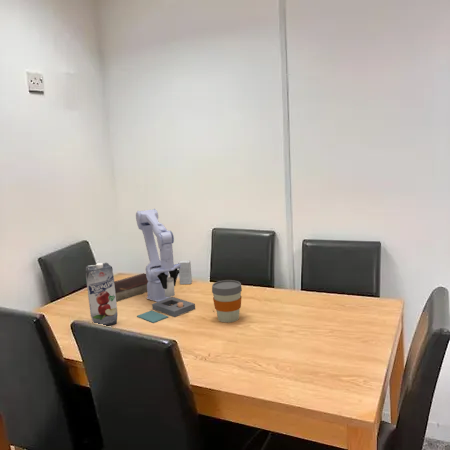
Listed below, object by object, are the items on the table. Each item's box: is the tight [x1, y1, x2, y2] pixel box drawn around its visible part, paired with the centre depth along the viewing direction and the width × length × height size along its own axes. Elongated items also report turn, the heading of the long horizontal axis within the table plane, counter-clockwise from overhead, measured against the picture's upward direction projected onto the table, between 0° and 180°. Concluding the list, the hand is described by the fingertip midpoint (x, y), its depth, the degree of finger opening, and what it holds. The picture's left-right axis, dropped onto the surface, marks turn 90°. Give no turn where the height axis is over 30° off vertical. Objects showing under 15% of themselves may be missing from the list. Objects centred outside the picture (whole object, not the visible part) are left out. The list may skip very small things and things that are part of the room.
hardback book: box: [114, 273, 148, 303], centre depth 244 cm, size 29×19×5 cm, turn 134°
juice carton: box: [85, 262, 118, 326], centre depth 198 cm, size 9×10×27 cm
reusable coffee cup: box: [211, 279, 243, 323], centre depth 197 cm, size 13×13×15 cm
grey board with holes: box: [151, 296, 196, 318], centre depth 213 cm, size 16×12×2 cm
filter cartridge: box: [165, 276, 176, 297], centre depth 213 cm, size 4×4×8 cm
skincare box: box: [177, 260, 193, 285], centre depth 250 cm, size 6×4×12 cm
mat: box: [136, 309, 169, 324], centre depth 205 cm, size 12×8×1 cm, turn 46°
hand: (169, 287), depth 213 cm, fingers closed on filter cartridge, 4 cm apart
